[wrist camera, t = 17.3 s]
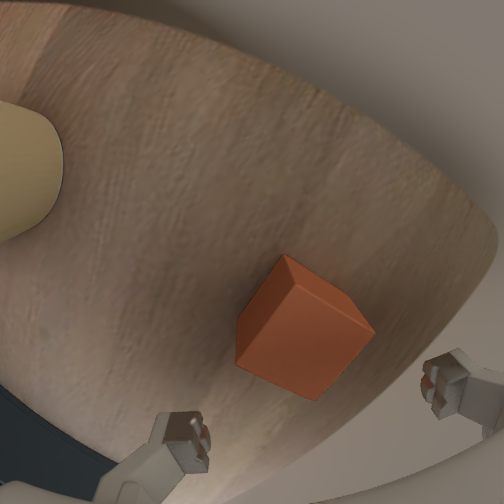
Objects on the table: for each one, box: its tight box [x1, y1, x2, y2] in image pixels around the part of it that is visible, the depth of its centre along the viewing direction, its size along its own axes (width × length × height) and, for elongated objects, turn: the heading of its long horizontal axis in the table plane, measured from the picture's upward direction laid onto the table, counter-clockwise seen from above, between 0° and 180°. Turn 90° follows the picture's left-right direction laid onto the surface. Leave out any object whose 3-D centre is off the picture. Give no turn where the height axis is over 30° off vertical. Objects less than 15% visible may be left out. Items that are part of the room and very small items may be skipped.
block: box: [235, 254, 375, 401], centre depth 15 cm, size 5×5×5 cm
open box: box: [0, 385, 118, 502], centre depth 18 cm, size 17×14×9 cm
